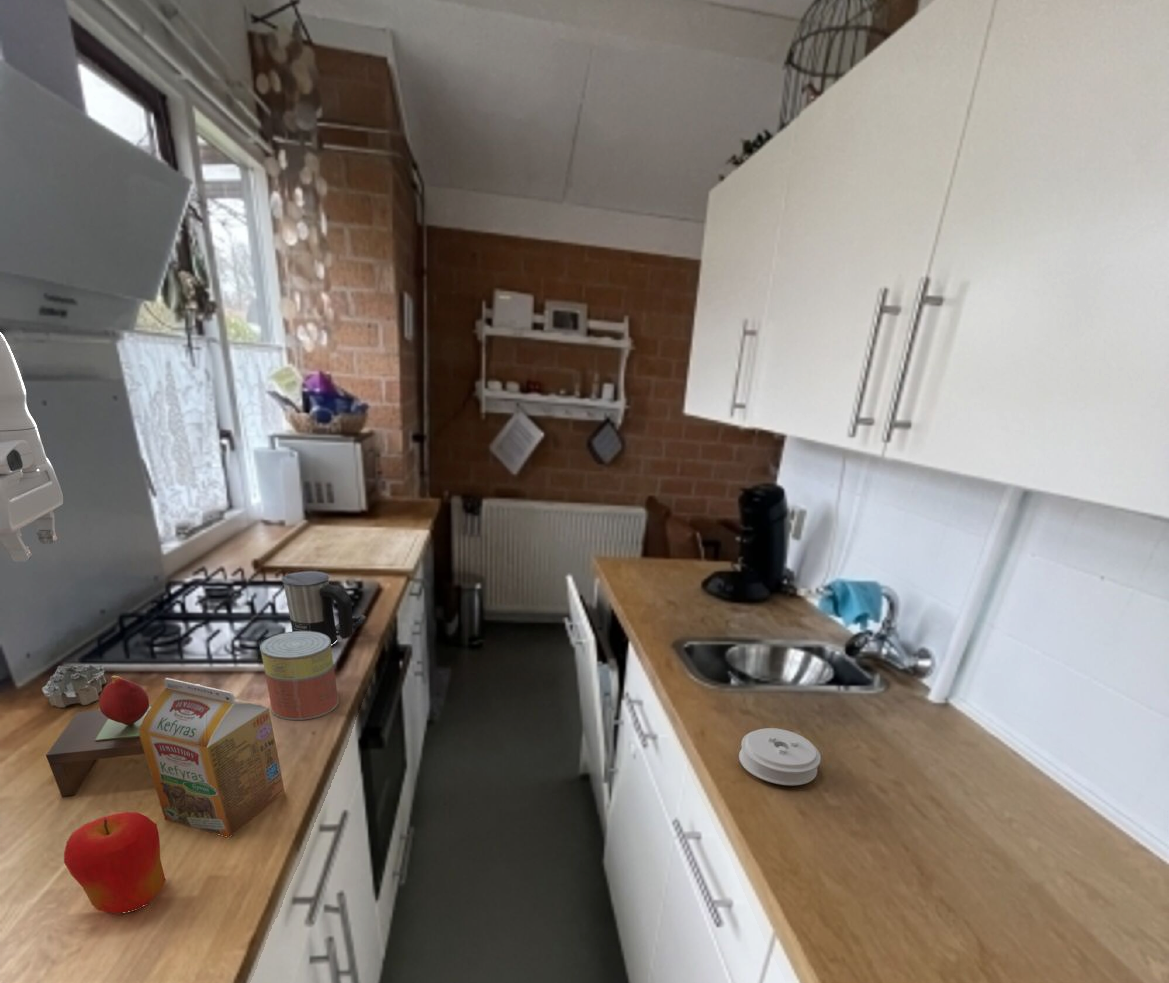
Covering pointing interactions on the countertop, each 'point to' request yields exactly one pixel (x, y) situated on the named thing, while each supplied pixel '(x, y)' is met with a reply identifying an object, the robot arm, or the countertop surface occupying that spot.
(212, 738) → the milk carton
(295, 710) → the canned food
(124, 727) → the shelf
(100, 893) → the apple
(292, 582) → the milk frother
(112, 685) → the onion
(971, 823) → the countertop surface
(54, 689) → the egg carton
